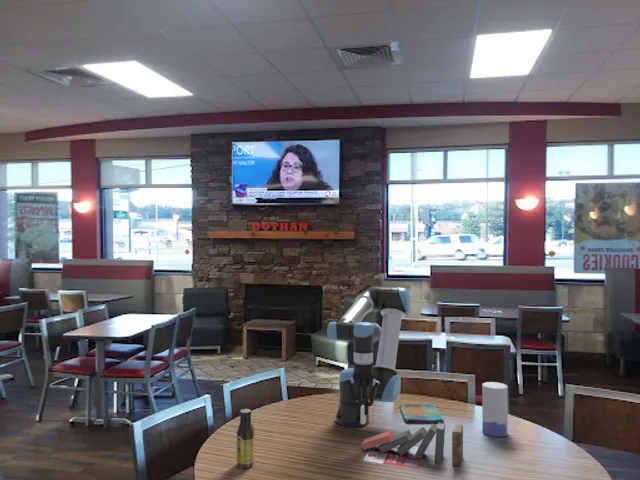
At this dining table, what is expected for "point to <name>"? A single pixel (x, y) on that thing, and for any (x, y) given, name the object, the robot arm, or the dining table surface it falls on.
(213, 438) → the dining table surface
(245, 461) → the sauce bottle
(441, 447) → the domino
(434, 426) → the domino
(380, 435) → the red domino
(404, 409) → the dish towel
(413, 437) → the domino
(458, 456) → the end stop
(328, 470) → the dining table surface
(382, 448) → the domino
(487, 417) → the container
